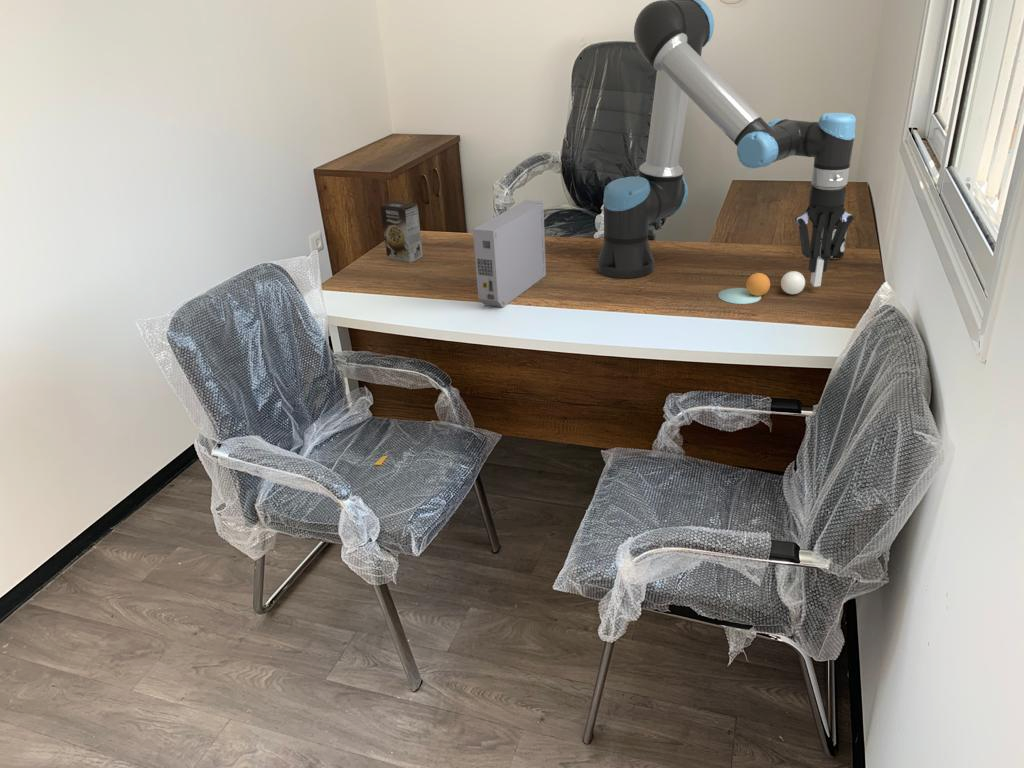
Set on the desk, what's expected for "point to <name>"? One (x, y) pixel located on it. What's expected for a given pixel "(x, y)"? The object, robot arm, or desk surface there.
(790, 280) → the cue ball
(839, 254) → the beverage can
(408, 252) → the coffee box
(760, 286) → the object ball
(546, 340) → the desk surface
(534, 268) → the game console
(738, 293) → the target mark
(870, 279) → the desk surface
